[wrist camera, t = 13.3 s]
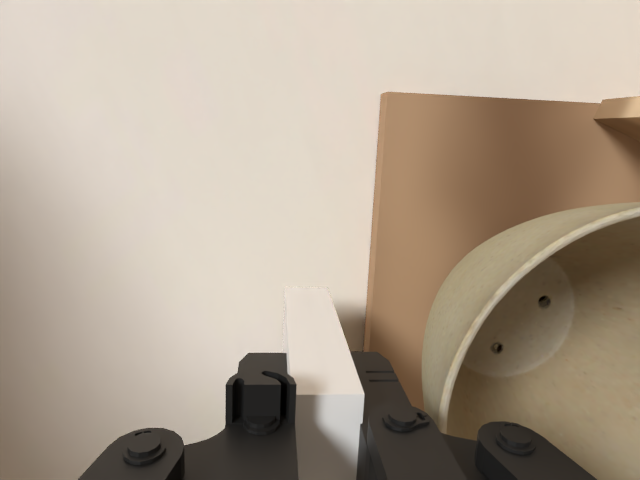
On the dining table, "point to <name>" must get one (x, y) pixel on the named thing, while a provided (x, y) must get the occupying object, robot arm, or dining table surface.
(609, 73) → the dining table surface
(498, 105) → the slot board
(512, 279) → the flower pot
